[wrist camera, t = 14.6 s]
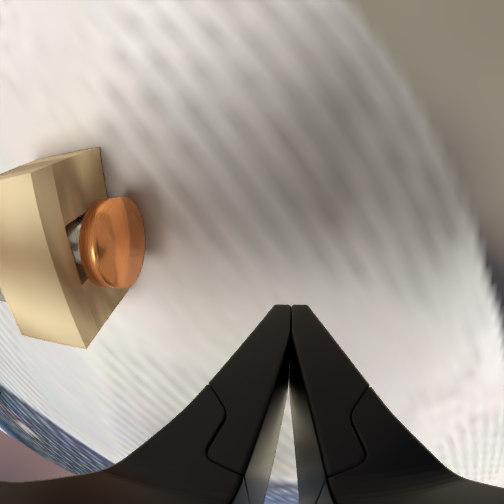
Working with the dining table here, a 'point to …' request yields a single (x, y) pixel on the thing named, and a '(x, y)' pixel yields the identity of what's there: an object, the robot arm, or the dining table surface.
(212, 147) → the dining table surface
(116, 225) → the pin
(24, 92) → the dining table surface
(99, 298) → the mount
